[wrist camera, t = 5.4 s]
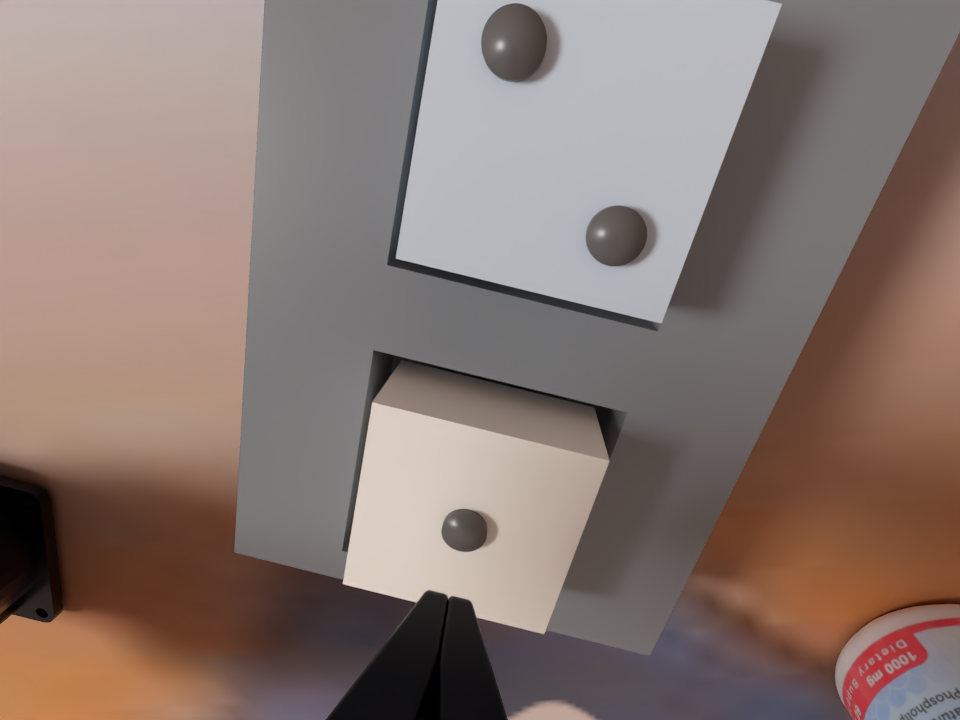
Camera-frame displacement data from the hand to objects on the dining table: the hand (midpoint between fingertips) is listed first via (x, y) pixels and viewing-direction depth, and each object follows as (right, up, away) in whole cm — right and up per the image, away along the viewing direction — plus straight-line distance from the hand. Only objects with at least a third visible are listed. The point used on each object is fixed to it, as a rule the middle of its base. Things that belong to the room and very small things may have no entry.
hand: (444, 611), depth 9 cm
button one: (+1, +2, +4) cm, 5 cm away
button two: (+2, +9, +2) cm, 9 cm away
